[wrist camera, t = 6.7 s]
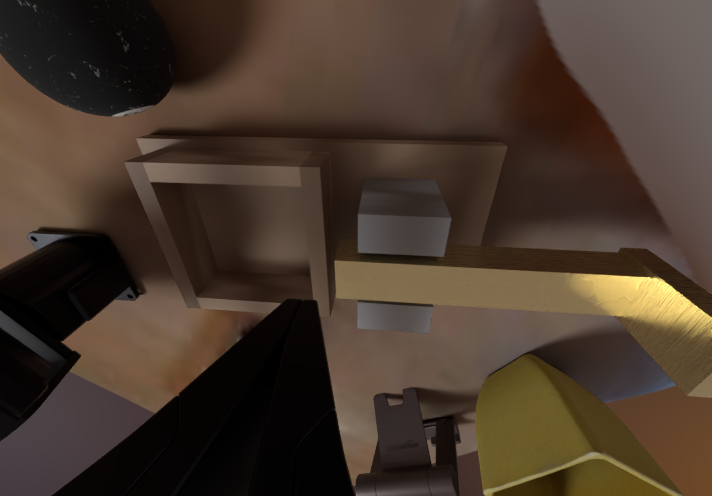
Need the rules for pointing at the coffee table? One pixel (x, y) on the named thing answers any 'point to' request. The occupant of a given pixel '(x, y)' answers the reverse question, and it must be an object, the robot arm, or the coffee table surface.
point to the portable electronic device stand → (411, 452)
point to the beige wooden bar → (553, 293)
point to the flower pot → (557, 439)
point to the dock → (308, 213)
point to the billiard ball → (90, 52)
